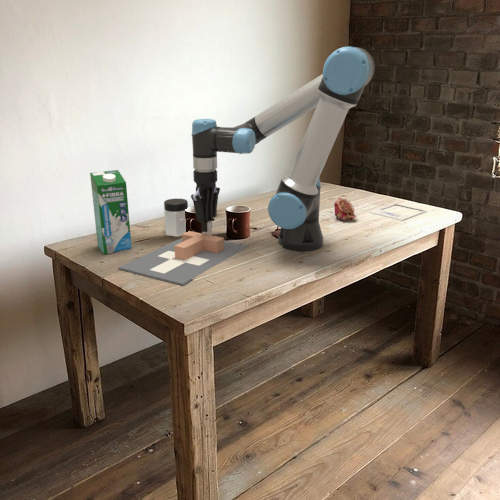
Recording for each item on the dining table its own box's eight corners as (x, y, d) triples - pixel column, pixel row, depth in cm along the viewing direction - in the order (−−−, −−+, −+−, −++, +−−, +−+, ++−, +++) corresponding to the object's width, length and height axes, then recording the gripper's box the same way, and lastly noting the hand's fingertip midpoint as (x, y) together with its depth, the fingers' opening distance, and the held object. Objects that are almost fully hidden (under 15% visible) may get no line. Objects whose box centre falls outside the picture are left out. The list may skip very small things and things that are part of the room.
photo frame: (370, 211, 216) (395, 203, 228) (370, 214, 216) (395, 205, 228) (402, 219, 206) (426, 210, 218) (402, 222, 207) (426, 212, 218)
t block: (224, 249, 176) (223, 237, 174) (198, 263, 164) (197, 250, 163) (189, 242, 182) (189, 230, 181) (162, 254, 171) (161, 242, 170)
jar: (171, 239, 187) (169, 206, 183) (161, 233, 193) (159, 200, 189) (194, 234, 192) (192, 202, 187) (183, 229, 198) (182, 197, 194)
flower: (324, 216, 206) (336, 202, 201) (330, 205, 213) (342, 191, 209) (345, 231, 206) (357, 217, 201) (350, 220, 214) (362, 206, 209)
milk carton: (104, 254, 173) (96, 177, 165) (97, 246, 181) (89, 172, 172) (131, 250, 177) (125, 174, 168) (124, 242, 185) (118, 169, 176)
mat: (249, 247, 179) (249, 245, 179) (183, 285, 150) (183, 283, 150) (190, 235, 191) (190, 233, 191) (118, 269, 162) (118, 267, 162)
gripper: (207, 164, 178) (209, 232, 186) (182, 172, 167) (185, 243, 176) (226, 167, 174) (227, 236, 183) (202, 174, 164) (204, 248, 172)
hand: (207, 240), depth 179 cm, fingers closed
